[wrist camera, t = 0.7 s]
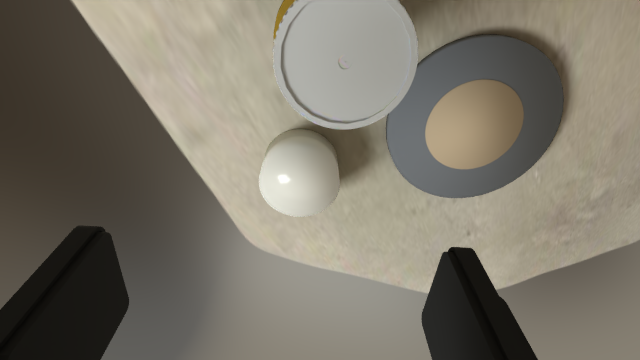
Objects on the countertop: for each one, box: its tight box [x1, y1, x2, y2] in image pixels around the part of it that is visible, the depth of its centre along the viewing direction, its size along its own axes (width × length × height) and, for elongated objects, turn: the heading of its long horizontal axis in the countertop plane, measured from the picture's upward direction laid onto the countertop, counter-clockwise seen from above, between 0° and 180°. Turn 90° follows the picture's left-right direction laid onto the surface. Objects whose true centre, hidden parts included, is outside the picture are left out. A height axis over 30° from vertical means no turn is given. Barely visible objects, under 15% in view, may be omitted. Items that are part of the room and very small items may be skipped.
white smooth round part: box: [259, 129, 340, 217], centre depth 33 cm, size 7×7×4 cm
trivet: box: [386, 34, 564, 198], centre depth 32 cm, size 15×15×1 cm
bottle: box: [272, 0, 419, 130], centre depth 22 cm, size 7×7×15 cm
